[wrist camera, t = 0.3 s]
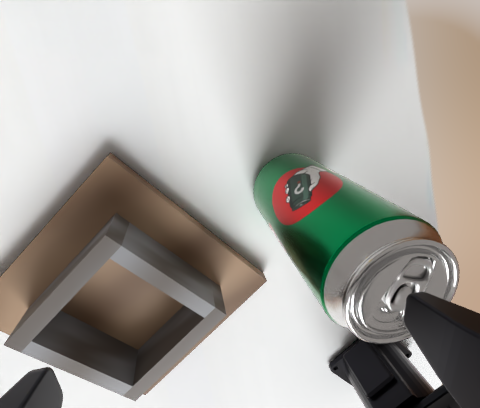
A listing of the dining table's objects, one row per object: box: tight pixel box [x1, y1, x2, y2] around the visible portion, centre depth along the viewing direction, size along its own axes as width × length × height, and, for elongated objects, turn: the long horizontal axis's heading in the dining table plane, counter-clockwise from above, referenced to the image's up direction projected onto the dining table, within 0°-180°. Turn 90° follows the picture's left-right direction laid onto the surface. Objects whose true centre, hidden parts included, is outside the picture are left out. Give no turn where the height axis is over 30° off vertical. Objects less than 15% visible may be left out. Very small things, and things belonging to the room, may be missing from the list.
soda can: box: [254, 153, 459, 344], centre depth 16 cm, size 5×5×12 cm
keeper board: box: [0, 153, 267, 401], centre depth 20 cm, size 14×14×4 cm
